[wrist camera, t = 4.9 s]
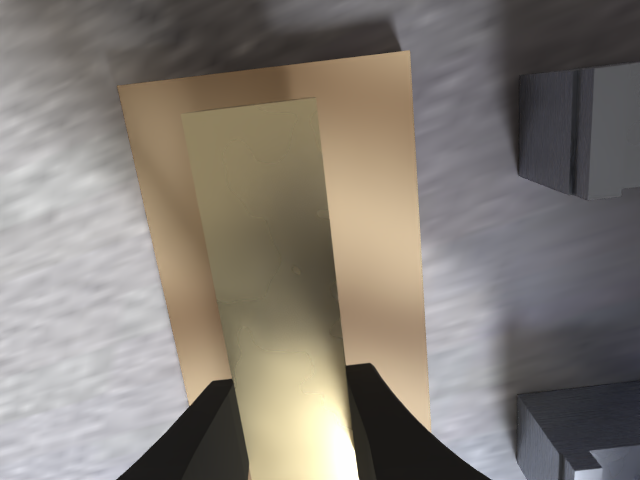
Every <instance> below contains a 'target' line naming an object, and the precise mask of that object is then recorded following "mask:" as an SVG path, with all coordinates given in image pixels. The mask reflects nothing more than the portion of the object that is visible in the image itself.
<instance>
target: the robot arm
mask: <svg viewBox="0 0 640 480" xmlns="http://www.w3.org/2000/svg"><path fill="white" fill-rule="evenodd" d="M346 378H347V386H348V395H349V404H350V413H351V422H352V431H353V440H354V448H355V456H356V464H357V472H358V478H359V480H491V479H490V478H488V477H487V476H485V475H483V474H482V473H480V472H479V471H477V470H476V469H474V468H473V467H472V466H470V465H469V464H468V463H466V462H465V461H463V460H462V459H461V458H460V457H458V456H457V455H456V454H455V453H453V452H452V451H451V450H450V449H448V448H447V447H446V446H445V445H444V444H443V443H441V442H440V441H439V440H438V439H437V438H436V437H435V436H434V435H433V434H431V433H430V432H429V431H428V430H427V429H426V428H425V427H424V426H423V425H422V424H421V423H420V422H419V421H418V420H417V419H416V418H415V417H414V416H413V415H412V414H411V413H410V411H409V410H408V409H407V408H406V407H405V406H404V405H403V404H402V402H401V401H400V400H399V399H398V398H397V397H396V395H395V394H394V393H393V392H392V391H391V389H390V388H389V387H388V385H387V384H386V383H385V381H384V380H383V379H382V377H381V376H380V374H379V373H378V371H377V370H376V368H375V366H374V365H372V364H371V363H363V364H354V365H346ZM248 474H249V459H248V453H247V448H246V443H245V438H244V433H243V428H242V422H241V417H240V412H239V407H238V402H237V397H236V391H235V386H234V383H233V381H232V379H224V380H215V381H212V382H211V383H210V384H209V385H208V386H207V387H206V388H205V389H204V390H203V392H202V393H201V394H200V395H199V396H198V397H197V398H196V400H195V401H194V402H193V403H192V404H191V405H190V406H189V407H188V409H187V410H186V411H185V412H184V413H183V414H182V415H181V416H180V417H179V419H178V420H177V421H176V422H175V423H174V424H173V425H172V426H171V427H170V428H169V430H168V431H167V432H166V433H165V434H164V435H163V436H162V437H161V438H160V439H159V440H158V441H157V442H156V443H155V444H154V445H153V446H152V447H151V448H150V449H149V450H148V451H147V452H146V453H145V454H144V455H143V456H142V457H141V458H140V459H139V460H138V461H137V462H135V463H134V464H133V465H132V466H131V467H130V468H129V469H128V470H127V471H126V472H124V473H123V474H122V475H121V476H120V477H119V478H118V479H116V480H248Z"/></svg>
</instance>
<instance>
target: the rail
mask: <svg viewBox="0 0 640 480" xmlns="http://www.w3.org/2000/svg"><path fill="white" fill-rule="evenodd" d="M181 119H182V124H183V129H184V134H185V140H186V145H187V150H188V155H189V160H190V165H191V170H192V176H193V181H194V186H195V191H196V196H197V201H198V206H199V212H200V217H201V222H202V227H203V232H204V237H205V242H206V248H207V253H208V258H209V263H210V268H211V273H212V278H213V284H214V289H215V294H216V299H217V304H218V309H219V314H220V320H221V325H222V330H223V335H224V340H225V345H226V350H227V356H228V361H229V366H230V371H231V376H232V381H233V383H234V386H235V391H236V397H237V402H238V407H239V412H240V417H241V422H242V428H243V433H244V438H245V443H246V448H247V453H248V459H249V469H250V474H251V479H252V480H359V478H358V472H357V464H356V456H355V448H354V440H353V431H352V422H351V413H350V404H349V395H348V386H347V378H346V361H345V352H344V343H343V334H342V325H341V317H340V308H339V299H338V290H337V281H336V272H335V263H334V254H333V245H332V236H331V228H330V219H329V210H328V201H327V192H326V183H325V174H324V165H323V156H322V148H321V139H320V130H319V121H318V112H317V103H316V98H315V97H306V98H298V99H290V100H281V101H273V102H265V103H256V104H248V105H240V106H231V107H223V108H215V109H207V110H201V111H195V112H189V113H183V114H181Z"/></svg>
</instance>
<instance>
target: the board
mask: <svg viewBox="0 0 640 480" xmlns="http://www.w3.org/2000/svg"><path fill="white" fill-rule="evenodd" d="M117 88H118V93H119V97H120V102H121V106H122V110H123V115H124V119H125V124H126V128H127V133H128V137H129V141H130V146H131V150H132V155H133V159H134V163H135V168H136V172H137V177H138V181H139V185H140V190H141V194H142V199H143V203H144V207H145V212H146V216H147V221H148V225H149V230H150V234H151V238H152V243H153V247H154V252H155V256H156V260H157V265H158V269H159V274H160V278H161V282H162V287H163V291H164V296H165V300H166V305H167V309H168V313H169V318H170V322H171V327H172V331H173V335H174V340H175V344H176V349H177V353H178V357H179V362H180V366H181V371H182V375H183V379H184V384H185V388H186V393H187V397H188V402H189V406H190V405H191V404H192V403H193V402H194V401H195V400H196V398H197V397H198V396H199V395H200V394H201V393H202V392H203V390H204V389H205V388H206V387H207V386H208V385H209V384H210V383H211V382H212V381H215V380H224V379H232V376H231V371H230V366H229V361H228V356H227V350H226V345H225V340H224V335H223V330H222V325H221V320H220V314H219V309H218V304H217V299H216V294H215V289H214V284H213V278H212V273H211V268H210V263H209V258H208V253H207V248H206V242H205V237H204V232H203V227H202V222H201V217H200V212H199V206H198V201H197V196H196V191H195V186H194V181H193V176H192V170H191V165H190V160H189V155H188V150H187V145H186V140H185V134H184V129H183V124H182V119H181V114H183V113H189V112H195V111H201V110H207V109H215V108H223V107H231V106H240V105H248V104H256V103H265V102H273V101H281V100H290V99H298V98H306V97H315V98H316V103H317V112H318V121H319V130H320V139H321V148H322V156H323V165H324V174H325V183H326V192H327V201H328V210H329V219H330V228H331V236H332V245H333V254H334V263H335V272H336V281H337V290H338V299H339V308H340V317H341V325H342V334H343V343H344V352H345V361H346V365H354V364H363V363H371V364H372V365H374V366H375V368H376V370H377V371H378V373H379V374H380V376H381V377H382V379H383V380H384V381H385V383H386V384H387V385H388V387H389V388H390V389H391V391H392V392H393V393H394V394H395V395H396V397H397V398H398V399H399V400H400V401H401V402H402V404H403V405H404V406H405V407H406V408H407V409H408V410H409V411H410V413H411V414H412V415H413V416H414V417H415V418H416V419H417V420H418V421H419V422H420V423H421V424H422V425H423V426H424V427H425V428H426V429H427V430H428V431H429V432H430V433H431V418H430V401H429V383H428V365H427V347H426V329H425V311H424V294H423V276H422V258H421V240H420V222H419V204H418V187H417V169H416V151H415V133H414V115H413V97H412V80H411V62H410V50H409V51H400V52H392V53H384V54H375V55H367V56H359V57H351V58H342V59H334V60H326V61H317V62H309V63H301V64H293V65H284V66H276V67H268V68H259V69H251V70H243V71H235V72H226V73H218V74H210V75H201V76H193V77H185V78H176V79H168V80H160V81H152V82H143V83H135V84H127V85H118V86H117ZM248 480H252V479H251V474H250V469H249V474H248Z"/></svg>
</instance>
